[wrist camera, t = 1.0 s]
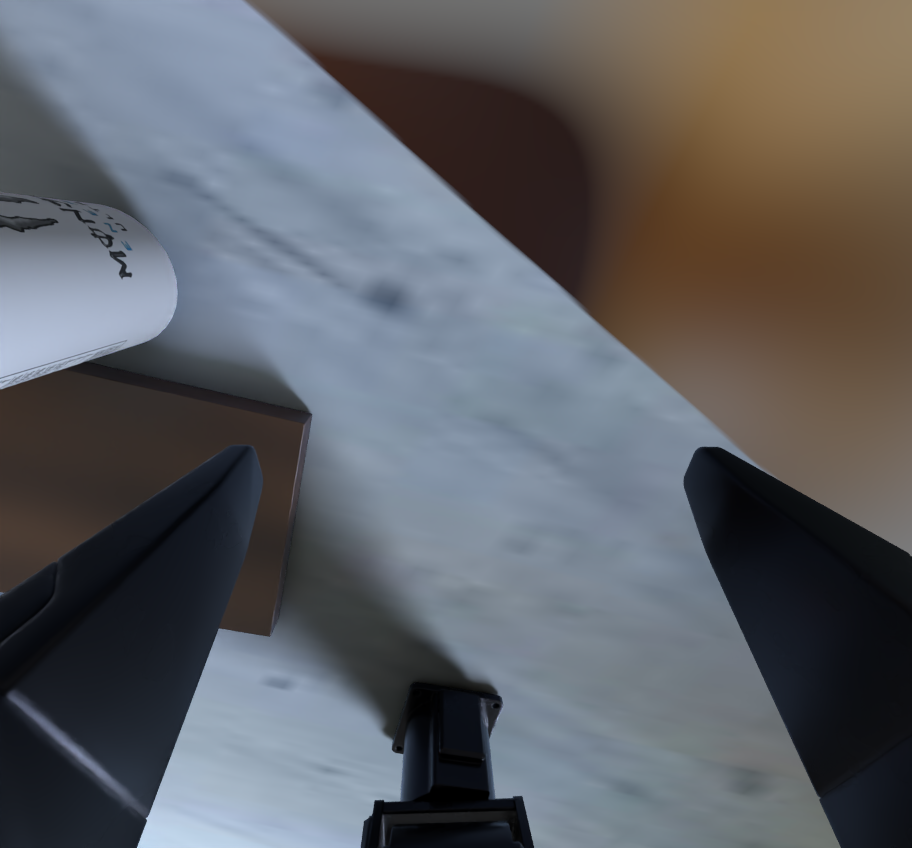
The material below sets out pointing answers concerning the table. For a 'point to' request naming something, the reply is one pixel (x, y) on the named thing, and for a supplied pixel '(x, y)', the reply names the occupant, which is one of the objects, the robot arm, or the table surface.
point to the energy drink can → (76, 285)
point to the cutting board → (138, 469)
